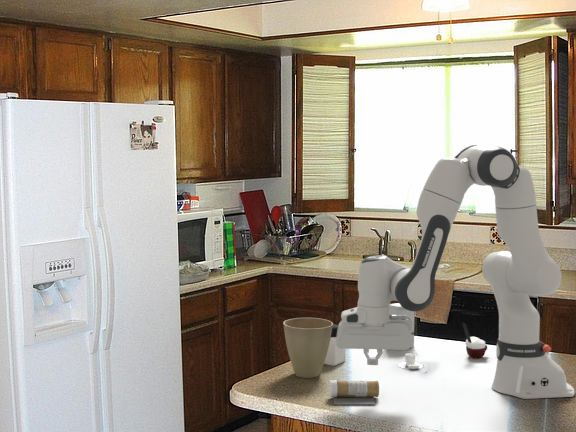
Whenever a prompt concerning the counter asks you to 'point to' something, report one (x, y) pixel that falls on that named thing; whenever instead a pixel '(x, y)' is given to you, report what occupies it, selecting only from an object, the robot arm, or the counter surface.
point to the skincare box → (399, 310)
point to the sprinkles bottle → (353, 388)
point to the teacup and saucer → (410, 362)
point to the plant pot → (307, 344)
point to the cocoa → (474, 345)
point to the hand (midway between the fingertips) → (372, 364)
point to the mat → (354, 401)
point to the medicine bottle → (334, 350)
